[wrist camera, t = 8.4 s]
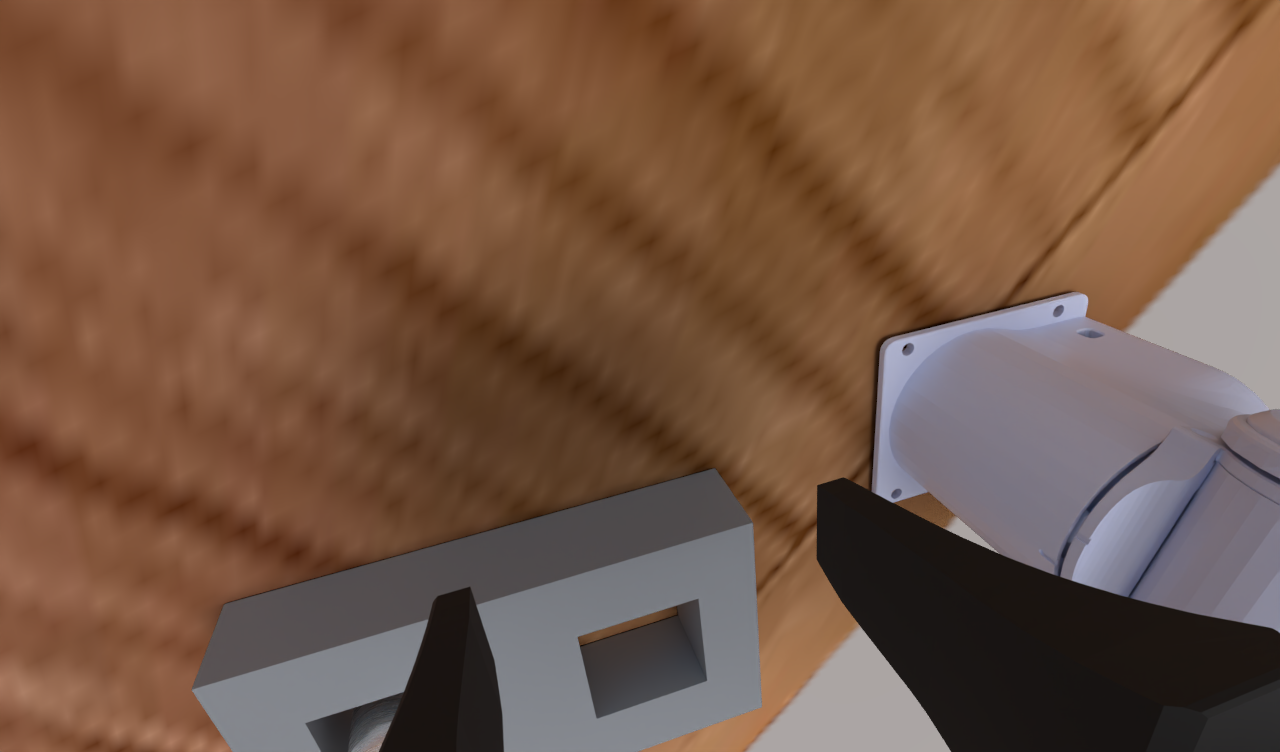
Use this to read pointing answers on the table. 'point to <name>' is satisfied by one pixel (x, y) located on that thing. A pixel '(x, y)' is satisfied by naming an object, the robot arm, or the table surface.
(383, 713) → the metal peg
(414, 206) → the table surface
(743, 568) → the hole block
